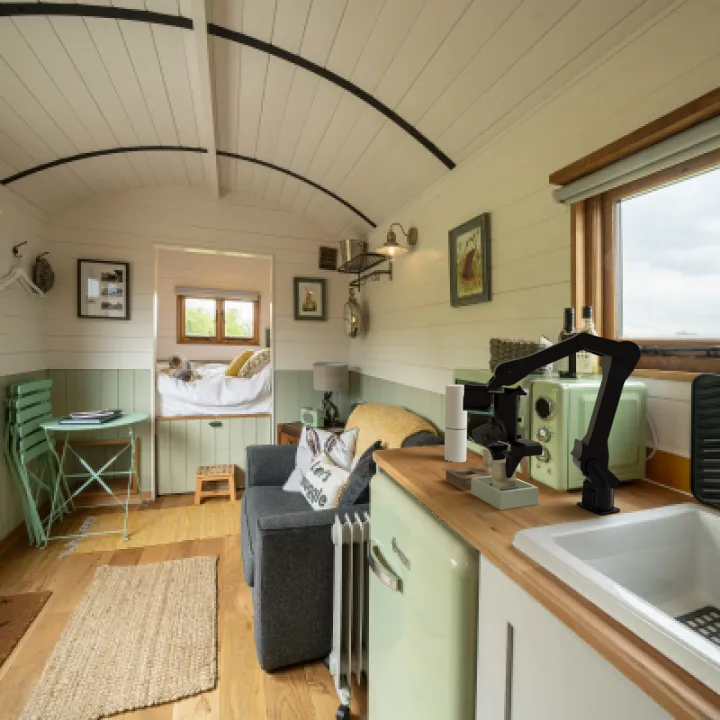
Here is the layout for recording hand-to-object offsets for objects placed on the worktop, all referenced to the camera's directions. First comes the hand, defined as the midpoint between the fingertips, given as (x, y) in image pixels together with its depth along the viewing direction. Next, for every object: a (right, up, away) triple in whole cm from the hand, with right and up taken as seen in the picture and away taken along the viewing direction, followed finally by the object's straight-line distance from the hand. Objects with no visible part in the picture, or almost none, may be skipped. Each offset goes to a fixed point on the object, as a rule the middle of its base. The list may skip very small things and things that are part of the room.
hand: (504, 475), depth 96 cm
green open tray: (0, -6, 0) cm, 6 cm away
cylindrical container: (-3, -5, +35) cm, 36 cm away
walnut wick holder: (-2, -5, +12) cm, 13 cm away
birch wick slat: (0, -5, 0) cm, 5 cm away
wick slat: (+2, -6, +14) cm, 15 cm away
